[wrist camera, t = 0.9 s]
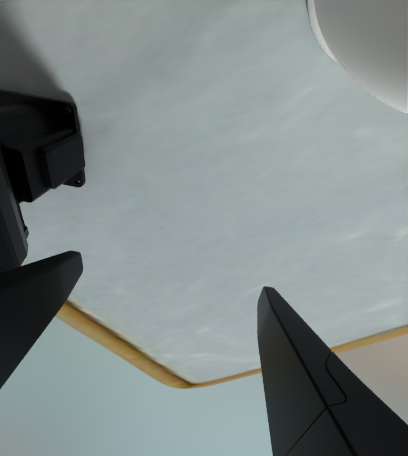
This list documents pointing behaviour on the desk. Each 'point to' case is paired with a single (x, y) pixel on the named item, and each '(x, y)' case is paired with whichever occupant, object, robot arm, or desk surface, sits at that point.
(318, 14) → the jar
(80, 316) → the desk surface
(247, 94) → the desk surface
